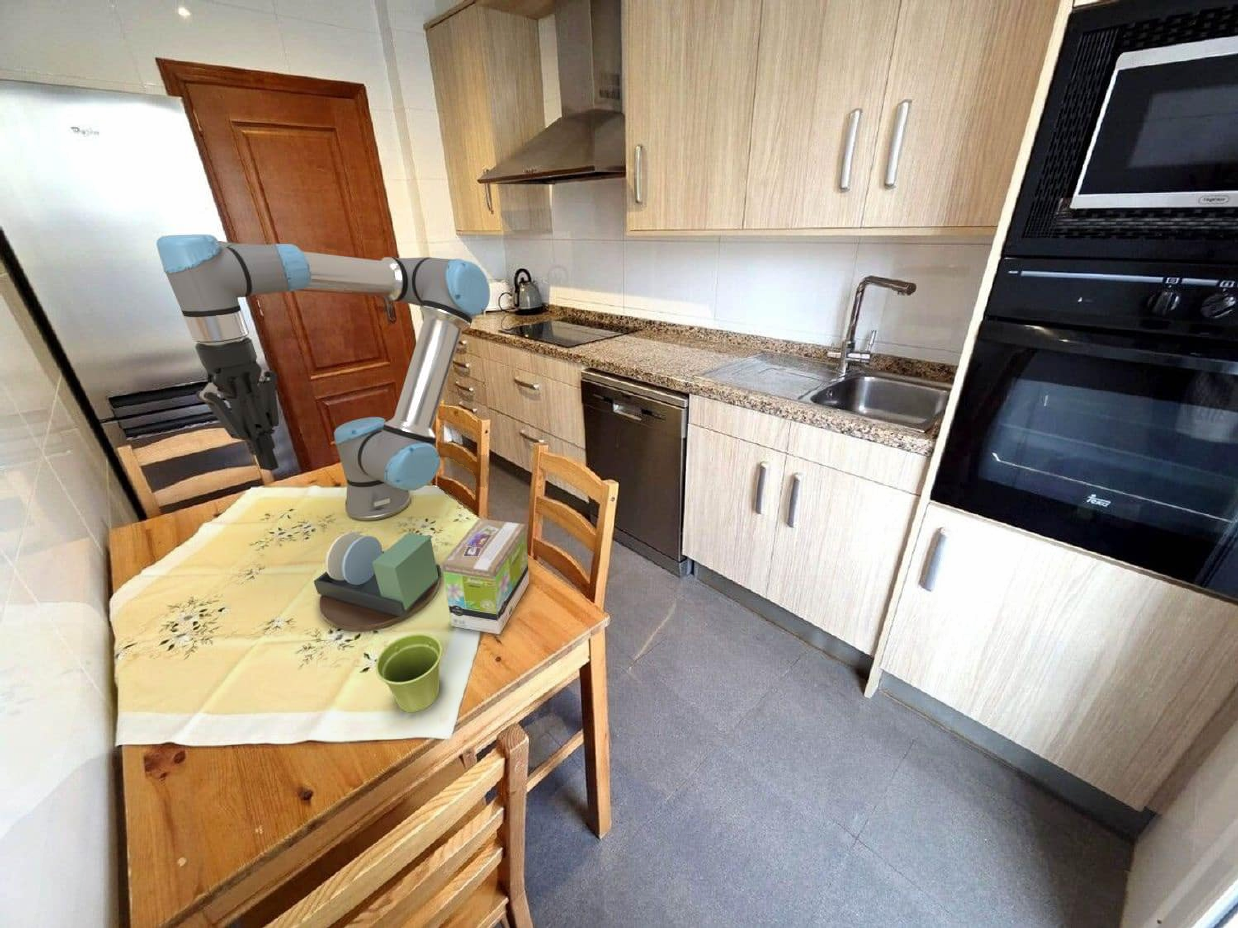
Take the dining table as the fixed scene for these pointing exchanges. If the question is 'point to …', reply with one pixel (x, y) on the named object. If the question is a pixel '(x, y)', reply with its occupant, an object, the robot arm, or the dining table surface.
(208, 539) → the dining table surface
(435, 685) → the plant pot
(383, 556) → the dish rack
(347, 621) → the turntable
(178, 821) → the dining table surface
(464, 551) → the tea box
